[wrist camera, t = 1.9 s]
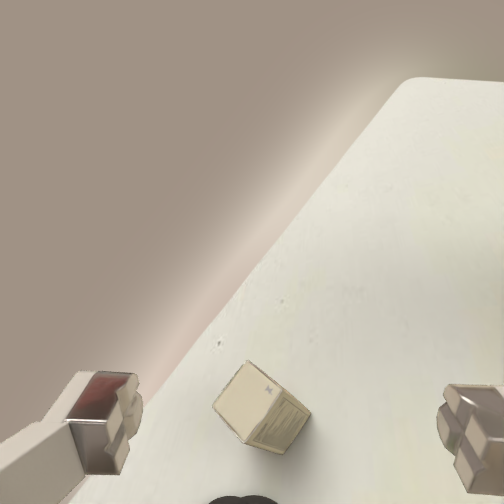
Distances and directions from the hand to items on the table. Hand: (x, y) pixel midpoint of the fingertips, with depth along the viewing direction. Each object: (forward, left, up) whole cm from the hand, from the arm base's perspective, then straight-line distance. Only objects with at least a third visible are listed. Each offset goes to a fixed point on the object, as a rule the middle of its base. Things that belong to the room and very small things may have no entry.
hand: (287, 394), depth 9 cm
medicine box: (+4, -8, -28) cm, 30 cm away
